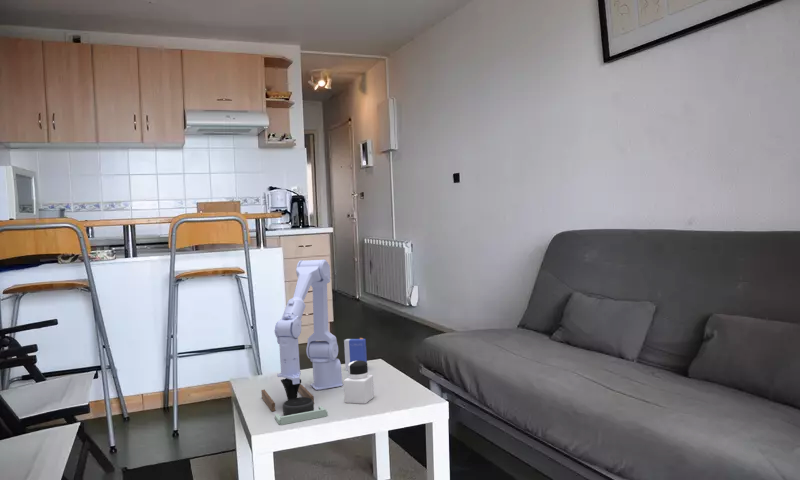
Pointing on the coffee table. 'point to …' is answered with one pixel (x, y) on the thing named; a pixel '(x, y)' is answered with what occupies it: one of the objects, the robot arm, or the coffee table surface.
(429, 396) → the coffee table surface
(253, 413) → the coffee table surface
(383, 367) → the coffee table surface
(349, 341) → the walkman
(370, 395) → the medicine bottle
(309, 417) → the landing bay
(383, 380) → the coffee table surface
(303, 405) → the smart speaker
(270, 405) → the chute
